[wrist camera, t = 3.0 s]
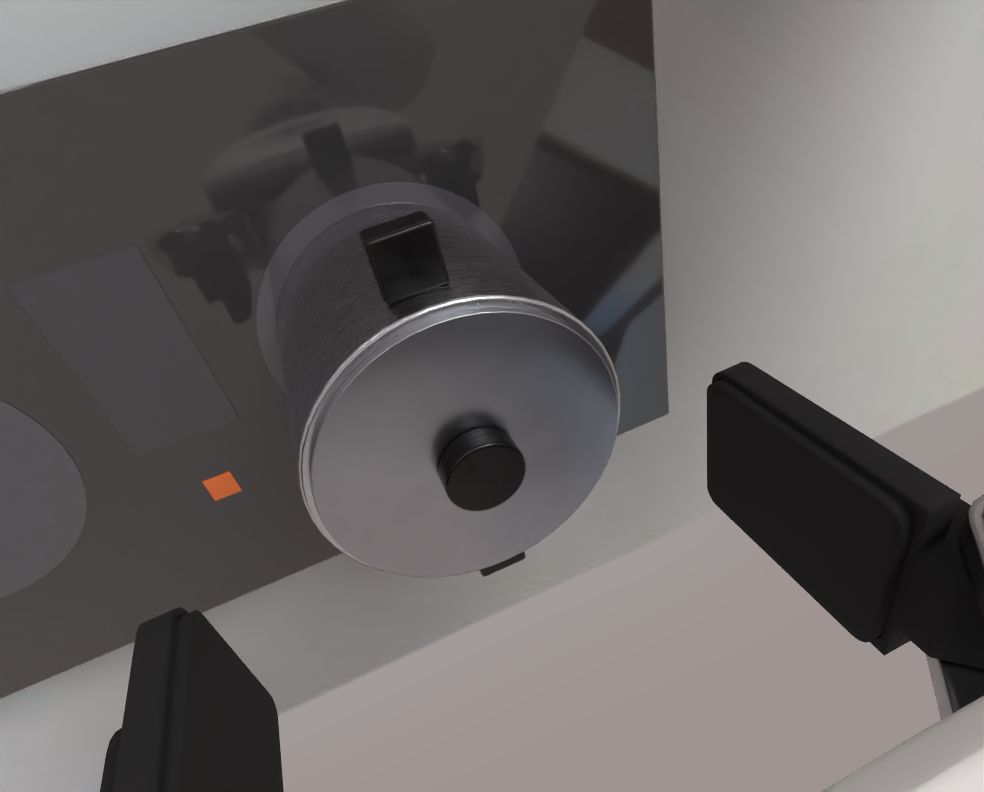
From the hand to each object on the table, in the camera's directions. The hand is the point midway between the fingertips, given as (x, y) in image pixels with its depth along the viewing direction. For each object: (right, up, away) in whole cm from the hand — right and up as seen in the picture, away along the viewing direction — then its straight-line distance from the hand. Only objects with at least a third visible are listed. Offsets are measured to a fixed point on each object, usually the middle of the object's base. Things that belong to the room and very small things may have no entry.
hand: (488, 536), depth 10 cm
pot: (-2, +5, +6) cm, 8 cm away
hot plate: (-9, +3, +7) cm, 12 cm away
